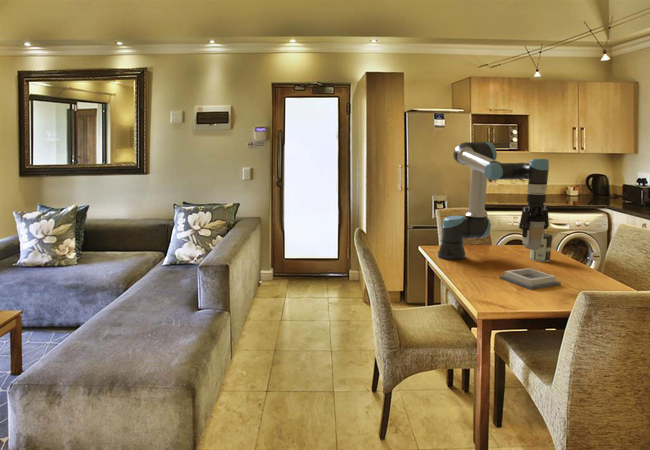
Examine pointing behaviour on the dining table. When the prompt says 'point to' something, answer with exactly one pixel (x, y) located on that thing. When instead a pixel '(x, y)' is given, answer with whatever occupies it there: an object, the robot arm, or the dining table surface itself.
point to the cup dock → (530, 278)
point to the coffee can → (542, 250)
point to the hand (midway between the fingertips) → (532, 243)
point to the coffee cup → (535, 231)
